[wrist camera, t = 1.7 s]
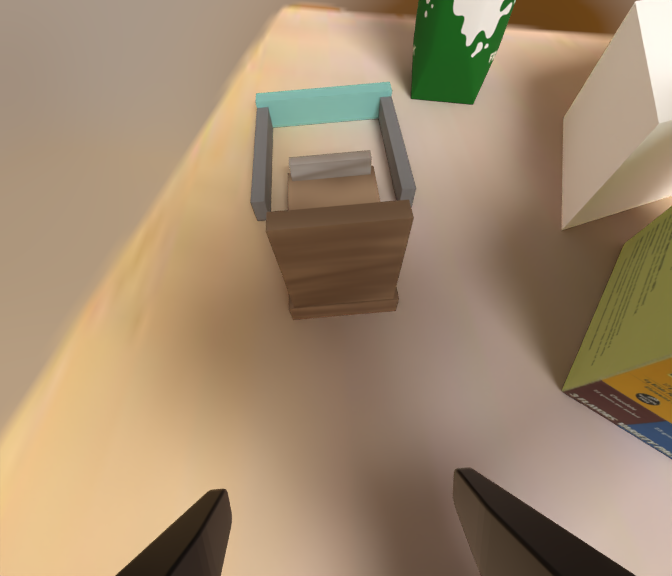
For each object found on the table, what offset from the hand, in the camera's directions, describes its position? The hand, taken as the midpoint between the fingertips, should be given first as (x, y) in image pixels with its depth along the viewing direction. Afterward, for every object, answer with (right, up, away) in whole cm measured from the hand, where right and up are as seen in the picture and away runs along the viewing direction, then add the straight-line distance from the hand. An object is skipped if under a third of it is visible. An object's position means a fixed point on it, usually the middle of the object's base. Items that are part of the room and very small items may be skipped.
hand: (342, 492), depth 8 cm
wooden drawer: (0, +9, +20) cm, 22 cm away
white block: (+30, +19, +25) cm, 43 cm away
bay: (-1, +19, +25) cm, 32 cm away
